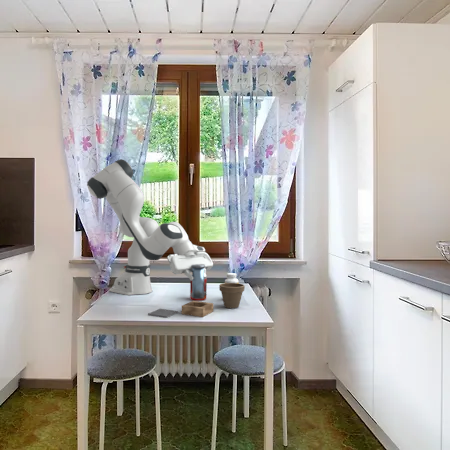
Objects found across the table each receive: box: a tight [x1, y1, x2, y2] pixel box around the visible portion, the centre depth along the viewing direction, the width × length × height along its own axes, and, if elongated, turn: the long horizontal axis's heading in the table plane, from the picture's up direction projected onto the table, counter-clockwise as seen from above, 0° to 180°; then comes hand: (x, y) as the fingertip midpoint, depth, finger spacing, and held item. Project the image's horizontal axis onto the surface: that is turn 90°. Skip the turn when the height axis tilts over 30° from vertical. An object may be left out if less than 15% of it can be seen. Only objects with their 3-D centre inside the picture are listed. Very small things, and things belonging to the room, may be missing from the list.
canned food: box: [189, 278, 208, 302], centre depth 194 cm, size 8×8×11 cm
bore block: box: [181, 300, 214, 318], centre depth 169 cm, size 10×10×4 cm
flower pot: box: [218, 282, 246, 309], centre depth 180 cm, size 12×11×10 cm
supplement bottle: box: [224, 272, 240, 284], centre depth 193 cm, size 7×7×13 cm
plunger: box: [191, 264, 205, 299], centre depth 169 cm, size 6×6×14 cm
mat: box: [147, 308, 179, 319], centre depth 167 cm, size 9×9×1 cm
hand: (199, 278), depth 168 cm, fingers closed on plunger, 5 cm apart
